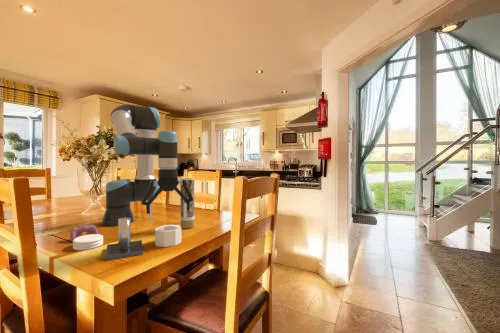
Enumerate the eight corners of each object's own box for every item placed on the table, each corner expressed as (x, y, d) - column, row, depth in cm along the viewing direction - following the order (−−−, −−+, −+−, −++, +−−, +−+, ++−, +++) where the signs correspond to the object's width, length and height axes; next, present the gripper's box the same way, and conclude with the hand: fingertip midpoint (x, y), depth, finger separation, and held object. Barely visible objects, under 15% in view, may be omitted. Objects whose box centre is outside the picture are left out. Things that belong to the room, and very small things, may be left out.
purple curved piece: (97, 239, 105) (95, 224, 107) (99, 237, 102) (97, 221, 104) (70, 244, 98) (68, 228, 100) (71, 242, 95) (70, 225, 97)
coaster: (108, 241, 98) (108, 233, 98) (93, 251, 88) (93, 241, 88) (84, 241, 98) (84, 233, 98) (66, 251, 88) (66, 241, 88)
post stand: (107, 248, 90) (107, 216, 90) (141, 243, 95) (141, 213, 95) (104, 260, 79) (103, 224, 79) (142, 254, 85) (142, 220, 84)
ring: (154, 240, 99) (154, 226, 99) (178, 237, 104) (178, 223, 104) (156, 248, 91) (156, 233, 90) (182, 244, 95) (182, 229, 95)
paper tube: (190, 229, 116) (190, 179, 115) (178, 228, 117) (178, 178, 116) (196, 225, 122) (196, 178, 122) (184, 224, 124) (184, 177, 123)
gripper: (134, 169, 87) (135, 225, 88) (200, 168, 99) (200, 218, 99) (134, 168, 94) (134, 221, 94) (195, 168, 106) (196, 214, 106)
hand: (168, 219), depth 97 cm, fingers open, 13 cm apart
